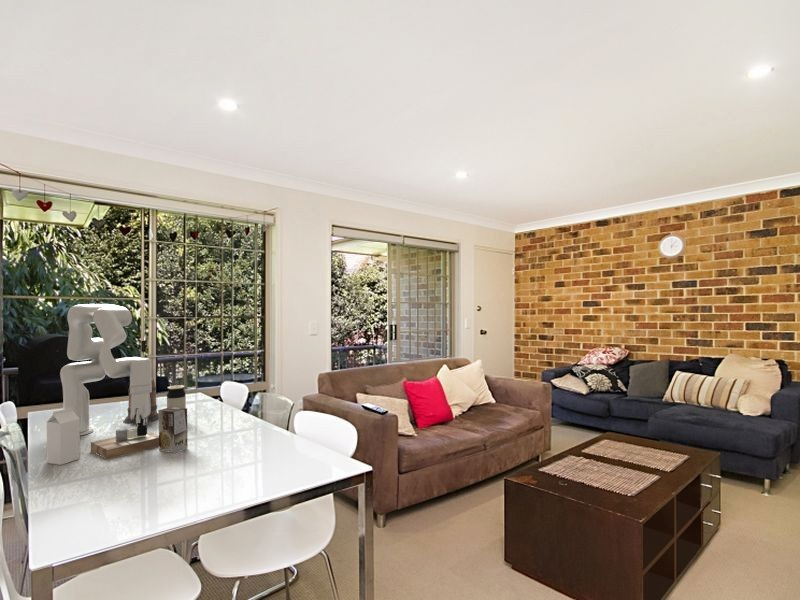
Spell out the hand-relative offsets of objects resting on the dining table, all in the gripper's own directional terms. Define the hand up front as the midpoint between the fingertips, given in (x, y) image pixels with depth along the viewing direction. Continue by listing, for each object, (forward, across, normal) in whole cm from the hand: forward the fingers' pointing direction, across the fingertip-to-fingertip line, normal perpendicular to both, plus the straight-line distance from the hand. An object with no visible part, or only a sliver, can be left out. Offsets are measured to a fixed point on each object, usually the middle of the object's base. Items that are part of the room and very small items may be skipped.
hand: (142, 435), depth 184 cm
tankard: (+4, -48, -13) cm, 49 cm away
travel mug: (+5, -36, +4) cm, 36 cm away
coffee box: (+6, +5, +12) cm, 15 cm away
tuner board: (+5, -1, -6) cm, 8 cm away
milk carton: (+5, +9, -24) cm, 26 cm away
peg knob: (+1, -1, -4) cm, 5 cm away
